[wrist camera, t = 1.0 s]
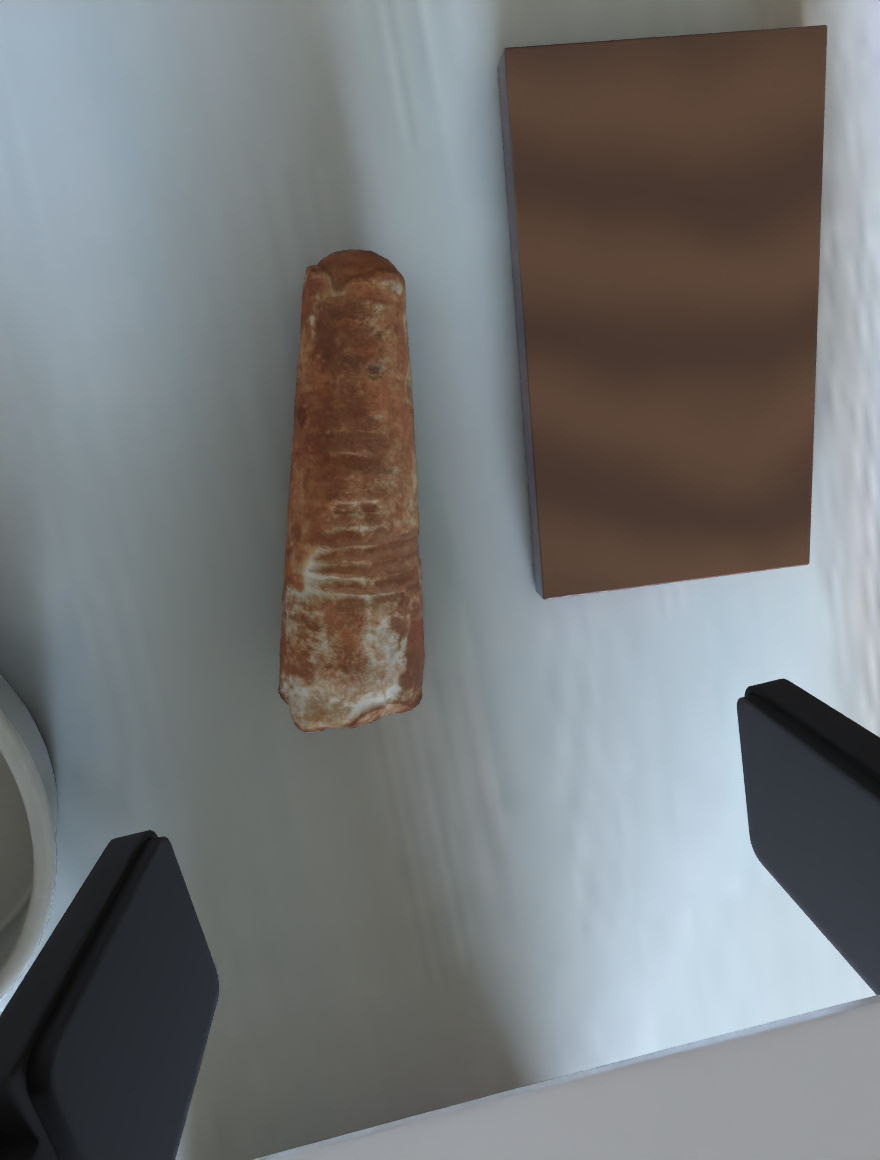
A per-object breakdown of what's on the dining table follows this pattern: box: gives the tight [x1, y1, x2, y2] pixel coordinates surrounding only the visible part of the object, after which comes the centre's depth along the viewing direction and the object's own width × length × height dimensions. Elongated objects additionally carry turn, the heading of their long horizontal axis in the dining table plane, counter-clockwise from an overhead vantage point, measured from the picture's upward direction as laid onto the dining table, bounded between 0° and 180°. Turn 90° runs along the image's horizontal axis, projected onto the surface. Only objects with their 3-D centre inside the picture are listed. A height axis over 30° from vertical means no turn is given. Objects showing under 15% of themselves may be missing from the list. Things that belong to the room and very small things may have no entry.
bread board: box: [498, 25, 827, 600], centre depth 29 cm, size 22×13×2 cm, turn 6°
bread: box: [278, 250, 425, 732], centre depth 27 cm, size 6×19×6 cm, turn 176°
